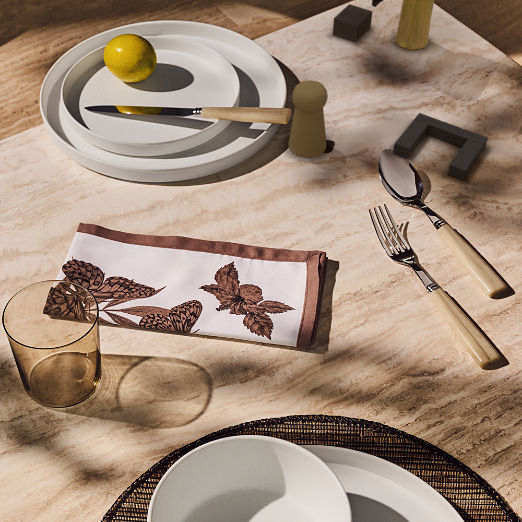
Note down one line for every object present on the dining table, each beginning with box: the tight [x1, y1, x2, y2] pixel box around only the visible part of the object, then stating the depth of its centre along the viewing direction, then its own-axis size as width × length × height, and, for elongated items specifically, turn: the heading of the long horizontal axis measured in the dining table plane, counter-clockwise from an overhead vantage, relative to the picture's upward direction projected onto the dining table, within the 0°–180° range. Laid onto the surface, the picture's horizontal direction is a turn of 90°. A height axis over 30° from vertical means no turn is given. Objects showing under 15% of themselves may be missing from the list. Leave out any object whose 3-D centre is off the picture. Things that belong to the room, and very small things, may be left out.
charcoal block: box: [332, 3, 373, 43], centre depth 128 cm, size 5×6×4 cm
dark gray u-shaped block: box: [392, 112, 489, 181], centre depth 106 cm, size 12×9×2 cm
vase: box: [394, 0, 435, 51], centre depth 121 cm, size 6×6×14 cm
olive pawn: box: [288, 79, 329, 158], centre depth 104 cm, size 6×6×11 cm
